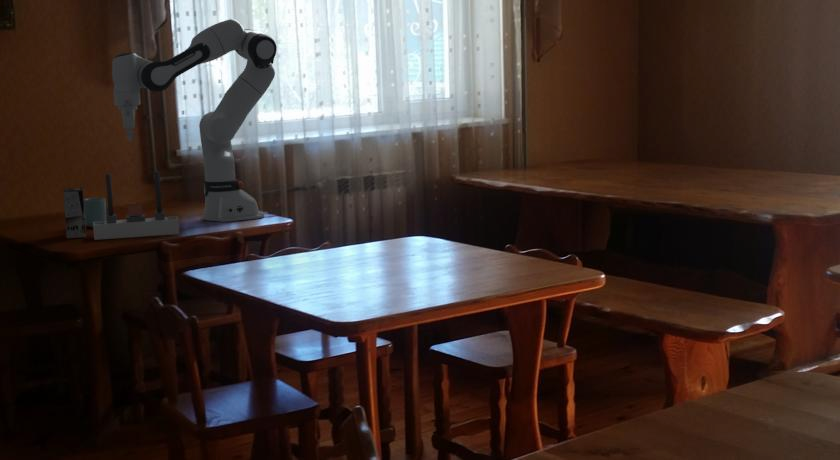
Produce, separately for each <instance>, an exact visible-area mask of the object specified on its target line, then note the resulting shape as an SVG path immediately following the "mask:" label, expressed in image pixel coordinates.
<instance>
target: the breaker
mask: <svg viewBox="0 0 840 460" xmlns="http://www.w3.org/2000/svg"><path fill="white" fill-rule="evenodd" d="M142 206H143V204H139V205H128V215H129V216H137V215H142V214H143V207H142Z"/></svg>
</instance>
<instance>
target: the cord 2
mask: <svg viewBox="0 0 840 460" xmlns="http://www.w3.org/2000/svg"><path fill="white" fill-rule="evenodd" d="M153 172H154V185H155V198H156V200H155V201H156V211H154V218H155V219H156V220H165V217H166V216H165V210H163V209H162V193H161V191H162V190H161V177H160V176H161V175H160V171H153Z"/></svg>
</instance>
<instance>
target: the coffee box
mask: <svg viewBox="0 0 840 460" xmlns="http://www.w3.org/2000/svg"><path fill="white" fill-rule="evenodd" d="M62 194H63V195H62V196H63V208H64V217H65V231H66V238H67V239H75V238H86V236H87V227H86V226H87V224H86V222H85V209H84V199H85V198H84V190H83V187H73V188H72V187H71V188H64V189H63V191H62Z"/></svg>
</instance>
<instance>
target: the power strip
mask: <svg viewBox="0 0 840 460" xmlns="http://www.w3.org/2000/svg"><path fill="white" fill-rule="evenodd" d="M92 228H93V230H92V231H93V238H94V239H93V240H95V241H96V240H108V239H109V240H111V239H113V240H114V239H123V238H125V239H126V238H140V237H153V236H167V235H180V224H179V217H178V215H177V216H165V220H156V219H155V217H147V218H146V215H145V213H144V214H143V213H142V215H137V216H129V214H128V215H126V219H119V220H118V219H116V223H108V224H107V220H106V221H98V222H94V223H93V227H92Z"/></svg>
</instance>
